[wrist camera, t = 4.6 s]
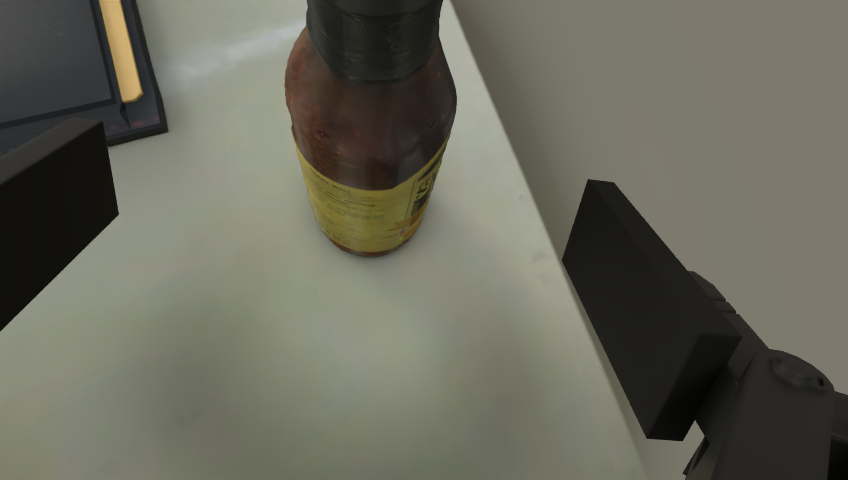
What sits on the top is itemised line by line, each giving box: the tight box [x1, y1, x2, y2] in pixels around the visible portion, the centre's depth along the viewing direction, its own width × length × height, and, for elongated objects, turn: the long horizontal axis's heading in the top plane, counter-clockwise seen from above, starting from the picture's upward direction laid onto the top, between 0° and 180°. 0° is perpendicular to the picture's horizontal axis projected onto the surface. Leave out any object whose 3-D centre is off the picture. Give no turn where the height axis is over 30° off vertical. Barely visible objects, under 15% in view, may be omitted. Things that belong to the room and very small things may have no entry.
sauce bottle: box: [285, 0, 457, 256], centre depth 21 cm, size 6×6×20 cm
